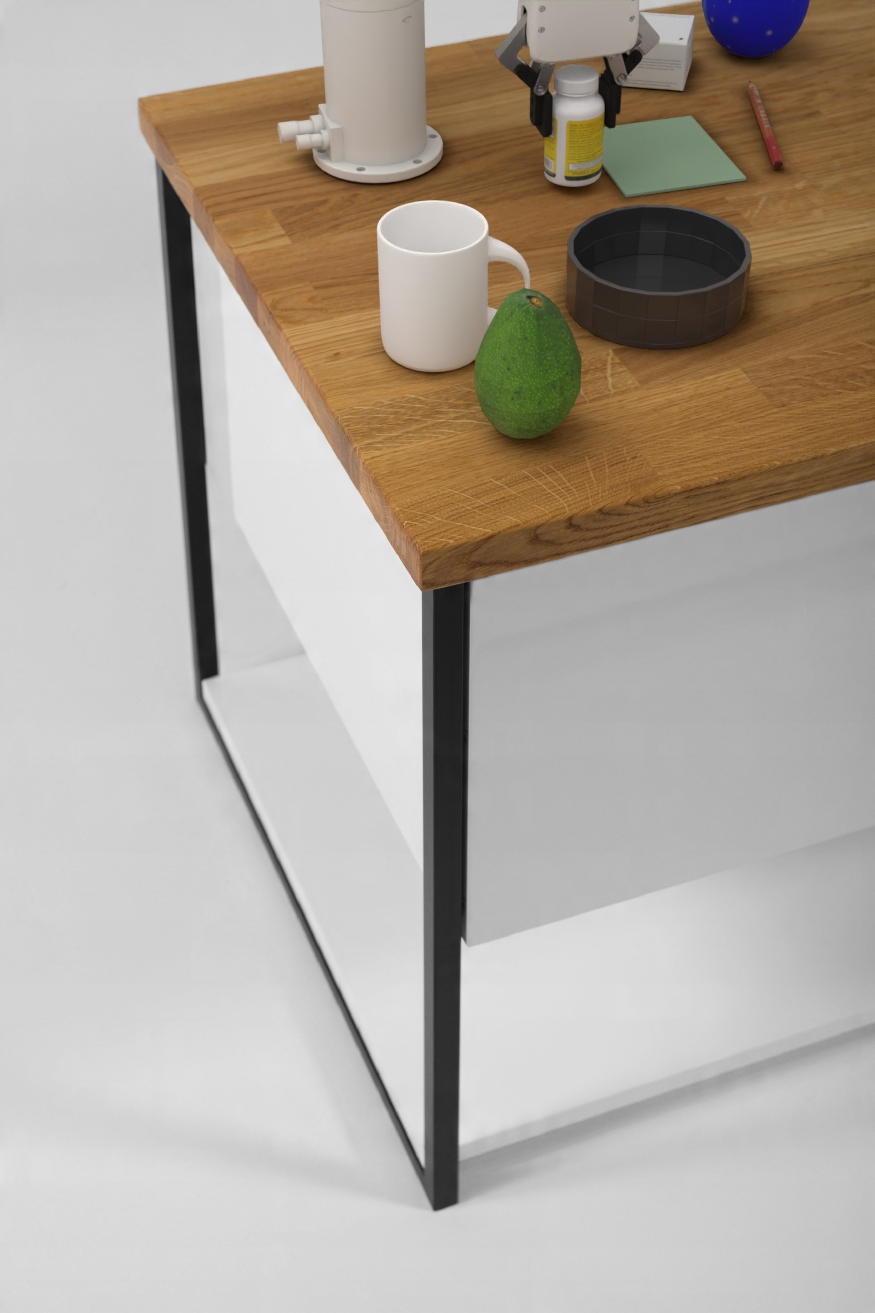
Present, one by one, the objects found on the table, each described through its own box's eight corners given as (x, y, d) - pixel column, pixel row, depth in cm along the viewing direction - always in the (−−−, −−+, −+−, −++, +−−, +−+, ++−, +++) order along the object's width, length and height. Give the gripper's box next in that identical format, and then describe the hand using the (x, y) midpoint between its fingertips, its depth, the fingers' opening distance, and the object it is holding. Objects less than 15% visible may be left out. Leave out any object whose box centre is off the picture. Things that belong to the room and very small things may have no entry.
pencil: (783, 170, 154) (784, 160, 154) (772, 170, 154) (773, 160, 154) (754, 85, 168) (755, 76, 167) (743, 85, 168) (744, 76, 167)
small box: (692, 62, 173) (697, 13, 169) (683, 93, 167) (688, 43, 164) (619, 56, 174) (622, 8, 171) (608, 86, 169) (611, 37, 165)
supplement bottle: (611, 170, 153) (617, 68, 146) (583, 194, 150) (588, 90, 143) (561, 157, 155) (564, 56, 148) (532, 180, 152) (535, 77, 145)
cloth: (625, 197, 151) (626, 194, 151) (577, 133, 161) (577, 130, 161) (746, 180, 153) (746, 177, 153) (690, 118, 163) (691, 115, 163)
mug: (533, 371, 130) (538, 250, 122) (383, 377, 129) (378, 256, 122) (523, 314, 136) (526, 196, 129) (379, 320, 136) (375, 201, 128)
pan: (599, 361, 131) (603, 306, 127) (542, 270, 141) (544, 217, 138) (772, 333, 133) (780, 279, 130) (703, 246, 144) (709, 194, 141)
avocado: (483, 466, 121) (485, 324, 112) (465, 406, 126) (465, 268, 118) (589, 455, 121) (598, 314, 113) (566, 396, 127) (573, 258, 119)
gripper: (663, -104, 141) (648, 98, 153) (472, -83, 138) (473, 121, 150) (695, -76, 136) (677, 131, 148) (498, -53, 133) (496, 157, 145)
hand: (574, 124), depth 149 cm, fingers closed on supplement bottle, 5 cm apart
